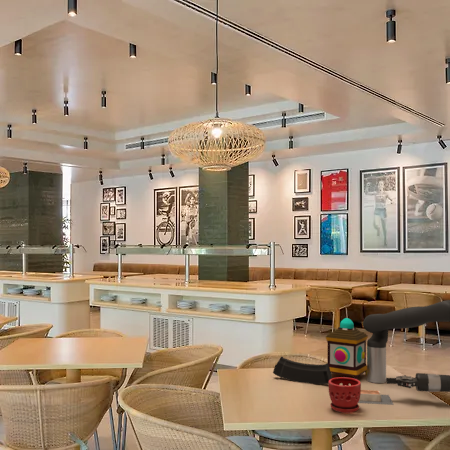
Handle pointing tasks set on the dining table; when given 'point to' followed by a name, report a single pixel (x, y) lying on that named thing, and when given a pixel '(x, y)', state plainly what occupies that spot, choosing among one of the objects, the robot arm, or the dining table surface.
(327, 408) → the dining table surface
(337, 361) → the decorative lantern
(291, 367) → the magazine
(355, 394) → the plant pot
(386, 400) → the mat
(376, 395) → the slab
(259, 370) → the dining table surface
